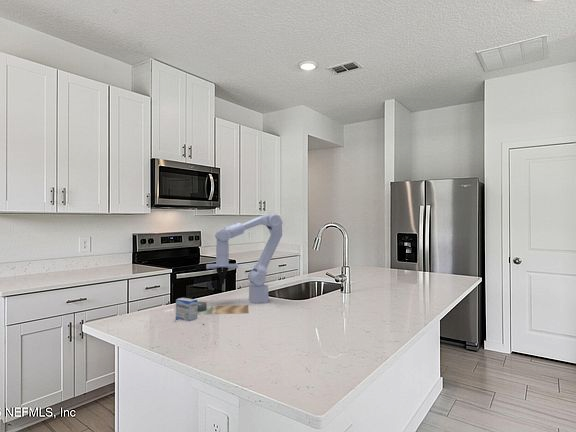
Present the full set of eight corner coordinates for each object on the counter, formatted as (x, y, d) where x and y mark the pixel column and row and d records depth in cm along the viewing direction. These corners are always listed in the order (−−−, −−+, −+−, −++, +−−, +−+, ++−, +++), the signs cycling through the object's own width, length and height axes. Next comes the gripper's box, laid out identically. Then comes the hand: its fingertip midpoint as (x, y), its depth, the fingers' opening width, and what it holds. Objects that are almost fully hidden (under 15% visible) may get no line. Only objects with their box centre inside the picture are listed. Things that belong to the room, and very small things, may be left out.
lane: (248, 307, 174) (248, 305, 174) (248, 315, 160) (248, 313, 160) (186, 308, 171) (186, 306, 171) (180, 317, 157) (180, 314, 157)
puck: (207, 308, 168) (207, 301, 168) (205, 311, 162) (205, 304, 162) (194, 308, 168) (194, 301, 168) (191, 311, 162) (191, 304, 162)
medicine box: (175, 320, 152) (175, 299, 152) (183, 318, 156) (183, 297, 156) (190, 323, 148) (190, 301, 148) (197, 320, 152) (197, 299, 152)
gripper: (205, 255, 171) (205, 285, 171) (238, 255, 172) (237, 285, 172) (207, 254, 178) (207, 283, 178) (238, 254, 179) (238, 282, 179)
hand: (222, 284), depth 175 cm, fingers closed
